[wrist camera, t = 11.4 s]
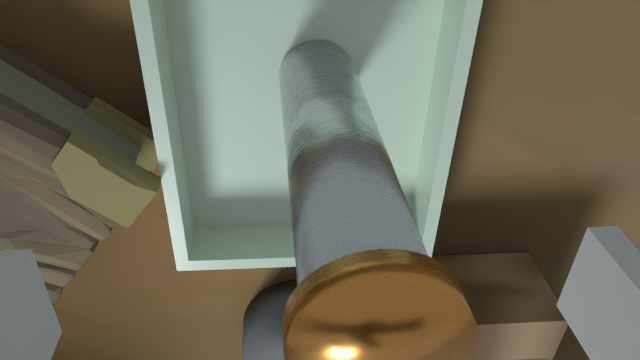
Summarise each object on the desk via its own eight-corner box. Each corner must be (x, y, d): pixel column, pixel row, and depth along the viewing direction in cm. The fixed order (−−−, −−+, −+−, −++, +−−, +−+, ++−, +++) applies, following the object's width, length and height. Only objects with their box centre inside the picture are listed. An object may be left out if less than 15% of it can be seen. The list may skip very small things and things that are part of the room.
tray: (185, 229, 27) (176, 270, 25) (124, -170, 17) (100, -169, 15) (416, 223, 28) (430, 262, 26) (481, -159, 18) (514, -156, 16)
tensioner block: (248, 374, 34) (245, 449, 30) (238, 262, 29) (233, 336, 24) (491, 361, 36) (520, 431, 31) (528, 252, 30) (570, 320, 26)
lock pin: (270, 119, 23) (285, 417, 12) (267, 30, 21) (283, 292, 9) (359, 117, 23) (459, 403, 12) (367, 29, 21) (497, 280, 10)
